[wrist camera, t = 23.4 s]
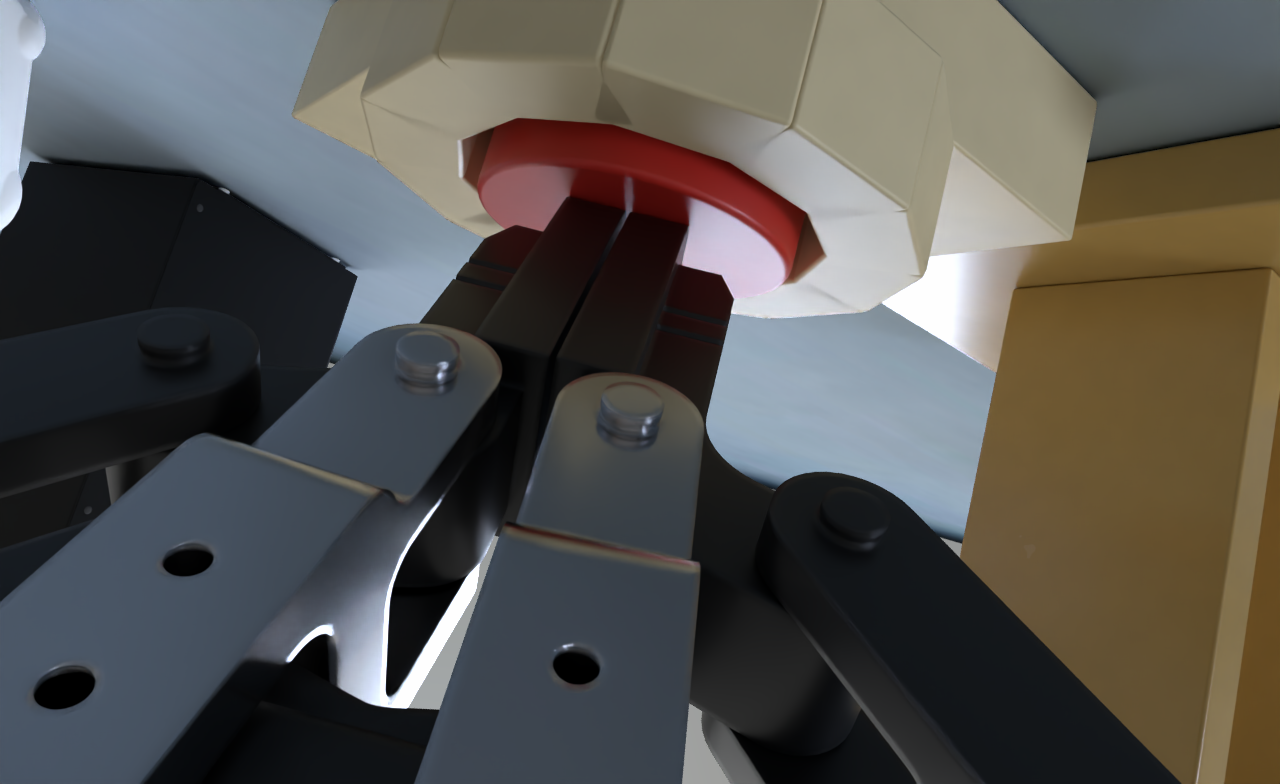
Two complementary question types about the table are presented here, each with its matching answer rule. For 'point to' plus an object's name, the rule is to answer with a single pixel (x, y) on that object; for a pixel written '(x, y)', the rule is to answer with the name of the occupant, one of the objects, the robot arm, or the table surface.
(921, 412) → the table surface
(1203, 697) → the bracket
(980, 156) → the button box
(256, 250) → the tissue box
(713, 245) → the button
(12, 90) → the dog bone
